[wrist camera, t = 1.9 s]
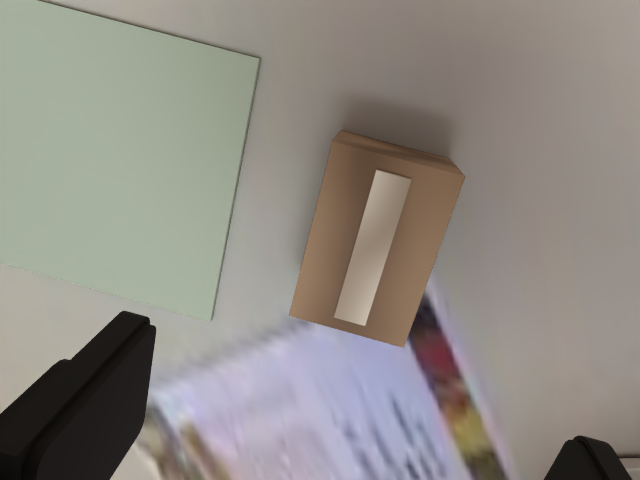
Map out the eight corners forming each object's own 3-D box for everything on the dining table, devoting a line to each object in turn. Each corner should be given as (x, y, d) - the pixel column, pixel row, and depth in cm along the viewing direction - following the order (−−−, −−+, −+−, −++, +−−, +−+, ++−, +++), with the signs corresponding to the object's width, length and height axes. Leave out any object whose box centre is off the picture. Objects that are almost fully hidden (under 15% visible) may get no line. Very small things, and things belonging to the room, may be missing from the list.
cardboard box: (449, 158, 25) (465, 177, 20) (399, 302, 28) (403, 349, 23) (341, 129, 25) (331, 141, 20) (304, 276, 28) (288, 317, 23)
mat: (261, 59, 24) (259, 58, 24) (212, 319, 30) (210, 322, 29) (-27, -17, 25) (-34, -19, 24) (-23, 252, 30) (-28, 254, 30)
